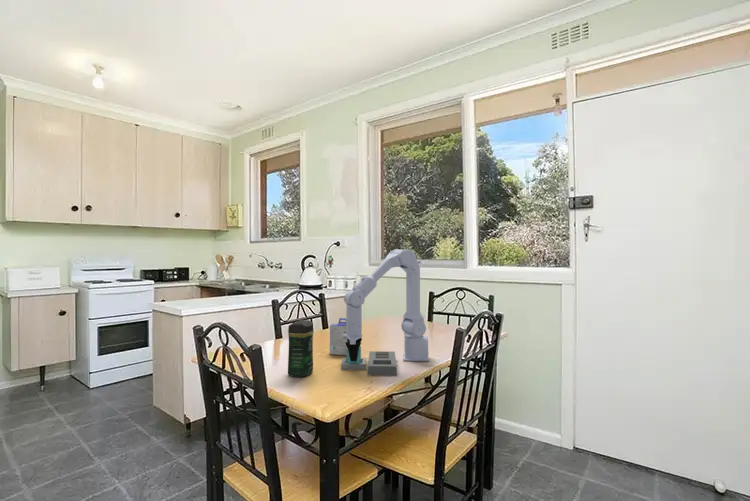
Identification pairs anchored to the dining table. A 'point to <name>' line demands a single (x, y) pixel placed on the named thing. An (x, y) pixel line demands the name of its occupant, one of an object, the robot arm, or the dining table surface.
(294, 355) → the coffee jar
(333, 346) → the ink cartridge box
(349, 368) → the grey rectangular frame
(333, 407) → the dining table surface
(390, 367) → the switch box
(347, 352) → the plug
